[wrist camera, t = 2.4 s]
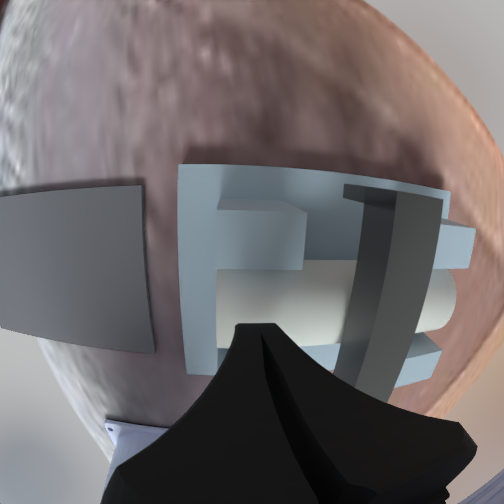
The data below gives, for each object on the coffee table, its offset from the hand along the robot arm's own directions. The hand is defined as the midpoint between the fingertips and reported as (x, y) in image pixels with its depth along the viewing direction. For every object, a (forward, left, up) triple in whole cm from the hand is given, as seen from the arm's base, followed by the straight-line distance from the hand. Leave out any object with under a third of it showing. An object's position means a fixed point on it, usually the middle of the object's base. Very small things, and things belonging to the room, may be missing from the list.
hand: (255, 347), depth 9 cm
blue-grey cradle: (0, -5, -6) cm, 8 cm away
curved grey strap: (0, -5, -3) cm, 6 cm away
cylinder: (0, -5, -5) cm, 7 cm away
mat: (0, +12, -6) cm, 14 cm away
